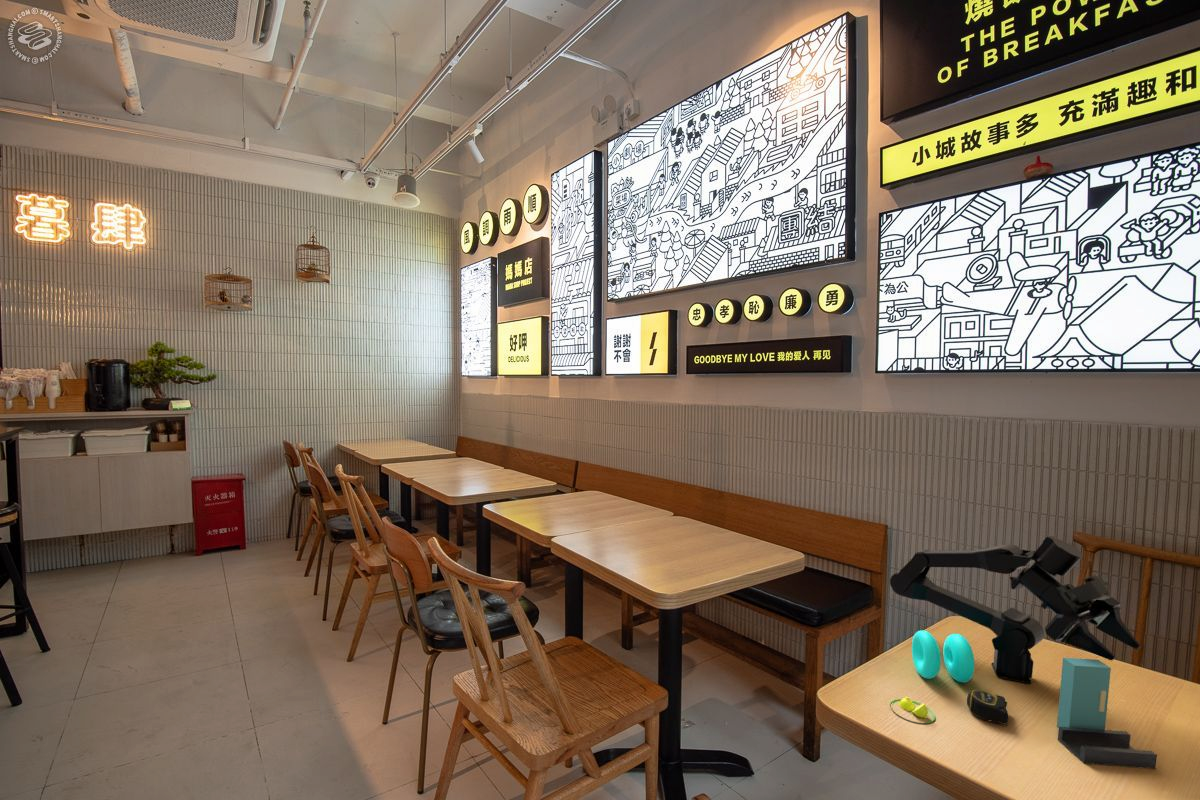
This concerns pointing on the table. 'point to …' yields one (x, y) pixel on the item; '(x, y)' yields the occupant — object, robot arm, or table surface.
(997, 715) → the tape measure
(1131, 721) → the table surface
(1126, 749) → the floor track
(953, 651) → the donuts
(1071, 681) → the door panel
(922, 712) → the lemon
